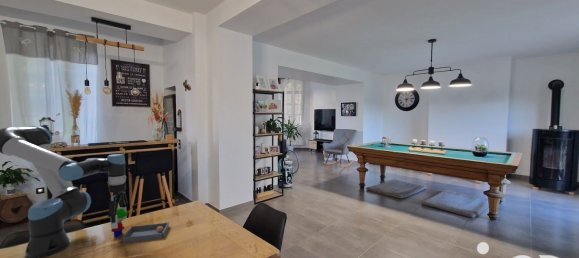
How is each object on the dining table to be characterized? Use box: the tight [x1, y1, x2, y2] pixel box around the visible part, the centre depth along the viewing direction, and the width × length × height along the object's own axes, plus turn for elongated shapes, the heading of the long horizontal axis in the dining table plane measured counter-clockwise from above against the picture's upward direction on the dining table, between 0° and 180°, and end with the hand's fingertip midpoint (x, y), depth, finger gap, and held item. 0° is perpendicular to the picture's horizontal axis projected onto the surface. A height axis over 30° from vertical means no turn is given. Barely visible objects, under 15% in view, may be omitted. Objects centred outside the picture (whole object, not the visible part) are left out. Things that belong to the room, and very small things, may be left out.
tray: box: [121, 222, 170, 244], centre depth 131 cm, size 19×13×3 cm
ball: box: [156, 226, 164, 233], centre depth 133 cm, size 4×4×4 cm
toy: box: [109, 207, 128, 239], centre depth 130 cm, size 8×8×15 cm
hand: (119, 223), depth 130 cm, fingers open, 11 cm apart
